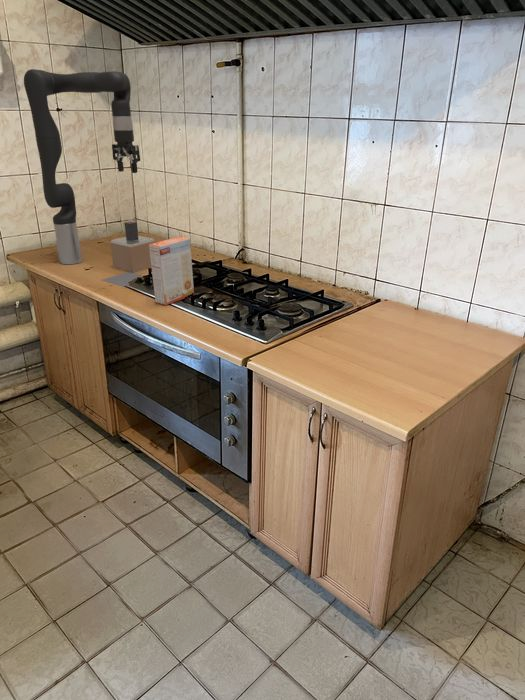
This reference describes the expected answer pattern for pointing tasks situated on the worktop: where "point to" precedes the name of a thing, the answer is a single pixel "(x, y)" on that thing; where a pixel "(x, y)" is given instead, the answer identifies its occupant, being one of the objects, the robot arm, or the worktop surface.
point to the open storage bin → (131, 257)
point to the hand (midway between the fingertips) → (127, 172)
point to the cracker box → (171, 270)
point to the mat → (122, 278)
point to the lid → (132, 236)
